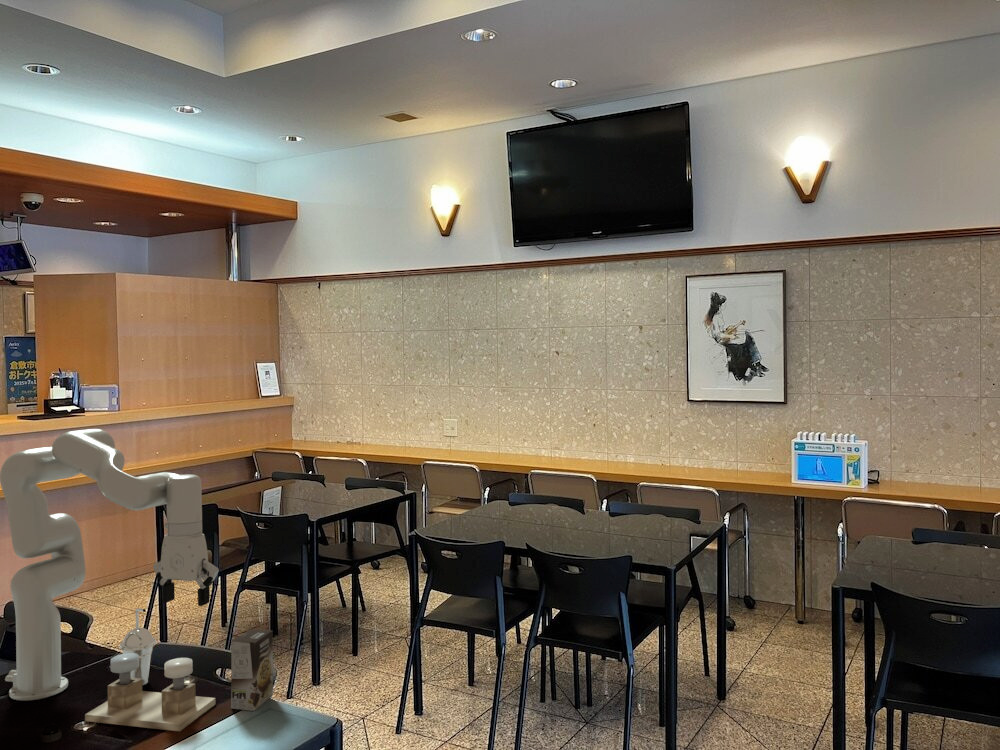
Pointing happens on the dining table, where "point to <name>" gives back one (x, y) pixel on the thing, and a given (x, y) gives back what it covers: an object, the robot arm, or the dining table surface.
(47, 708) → the dining table surface
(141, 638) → the cup with straw
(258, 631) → the coffee box
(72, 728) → the dining table surface
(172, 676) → the knob
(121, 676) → the knob
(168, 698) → the wooden mounting board
